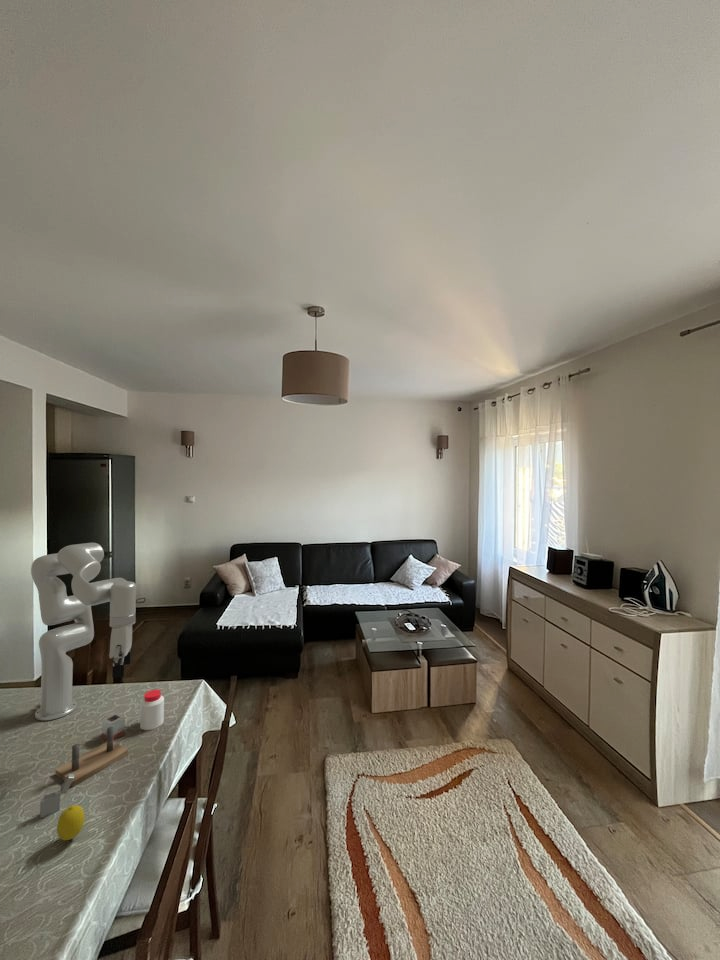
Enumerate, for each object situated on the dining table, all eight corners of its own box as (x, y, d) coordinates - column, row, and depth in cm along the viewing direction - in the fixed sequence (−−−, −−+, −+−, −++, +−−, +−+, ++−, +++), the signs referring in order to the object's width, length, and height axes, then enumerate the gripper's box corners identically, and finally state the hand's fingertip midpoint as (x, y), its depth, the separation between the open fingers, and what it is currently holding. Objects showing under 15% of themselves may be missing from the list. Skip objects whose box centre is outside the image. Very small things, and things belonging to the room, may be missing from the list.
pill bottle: (153, 731, 140) (154, 700, 140) (134, 728, 142) (135, 697, 142) (168, 719, 148) (169, 689, 148) (150, 716, 149) (151, 686, 149)
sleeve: (101, 737, 137) (102, 719, 137) (116, 729, 141) (116, 712, 141) (109, 741, 134) (110, 724, 134) (124, 733, 139) (124, 716, 139)
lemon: (66, 829, 100) (66, 798, 100) (89, 828, 101) (89, 797, 101) (50, 850, 95) (51, 816, 95) (75, 848, 95) (76, 815, 95)
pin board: (55, 774, 119) (56, 745, 119) (110, 744, 133) (111, 718, 133) (72, 787, 114) (73, 757, 114) (127, 754, 128) (128, 728, 128)
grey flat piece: (40, 818, 104) (40, 787, 104) (40, 814, 105) (40, 783, 105) (73, 804, 108) (74, 775, 108) (73, 800, 109) (73, 771, 110)
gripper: (116, 612, 140) (115, 661, 140) (102, 629, 124) (101, 684, 124) (140, 610, 143) (139, 658, 142) (129, 627, 126) (128, 680, 126)
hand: (121, 670), depth 133 cm, fingers open, 9 cm apart
